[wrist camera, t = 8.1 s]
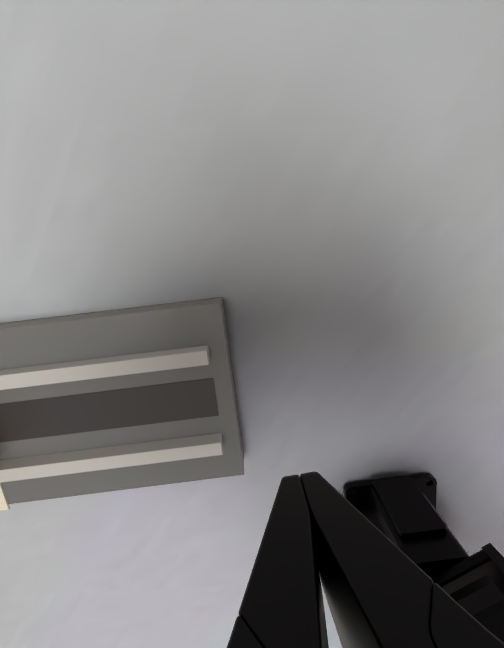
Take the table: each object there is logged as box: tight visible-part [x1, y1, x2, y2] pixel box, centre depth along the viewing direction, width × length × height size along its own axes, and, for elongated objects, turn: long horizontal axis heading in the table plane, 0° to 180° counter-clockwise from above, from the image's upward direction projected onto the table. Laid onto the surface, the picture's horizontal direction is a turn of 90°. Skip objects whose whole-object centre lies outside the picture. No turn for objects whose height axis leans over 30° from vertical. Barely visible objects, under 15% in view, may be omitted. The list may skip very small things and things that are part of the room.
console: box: [0, 297, 244, 510], centre depth 19 cm, size 12×22×3 cm, turn 96°
